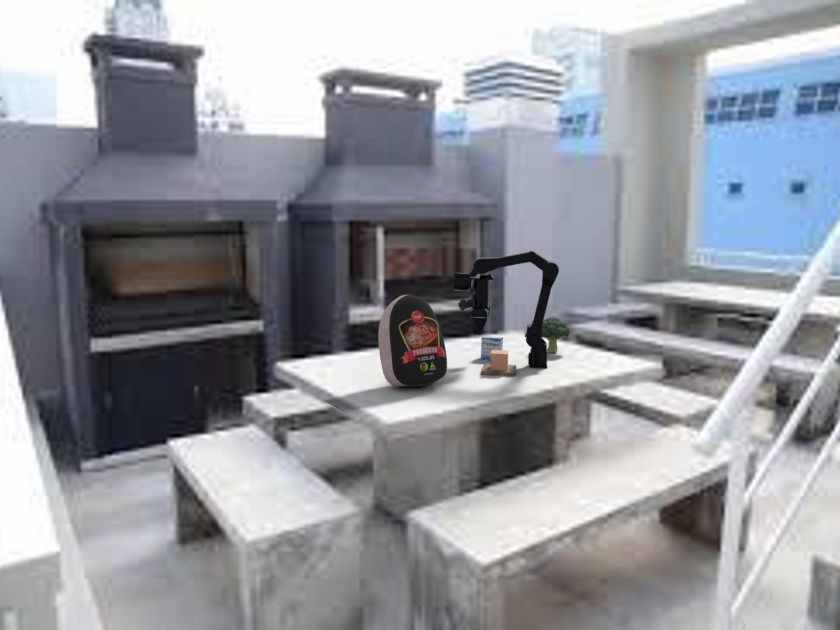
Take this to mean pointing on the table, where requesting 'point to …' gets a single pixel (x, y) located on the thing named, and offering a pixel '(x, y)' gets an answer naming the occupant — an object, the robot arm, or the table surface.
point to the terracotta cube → (499, 360)
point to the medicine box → (490, 346)
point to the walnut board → (510, 371)
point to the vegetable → (554, 332)
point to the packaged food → (411, 343)
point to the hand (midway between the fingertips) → (480, 332)
